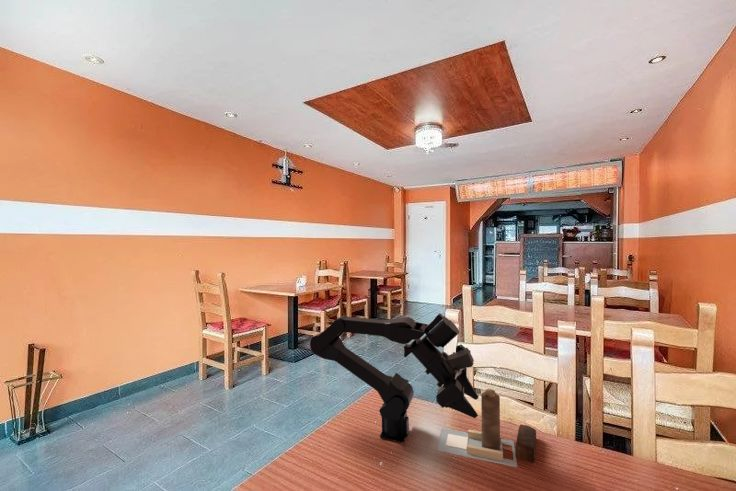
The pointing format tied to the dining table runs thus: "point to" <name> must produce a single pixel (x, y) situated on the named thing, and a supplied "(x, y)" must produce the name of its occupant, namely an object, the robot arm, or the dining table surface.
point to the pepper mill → (490, 420)
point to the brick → (526, 443)
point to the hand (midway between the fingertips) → (476, 407)
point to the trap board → (473, 446)
